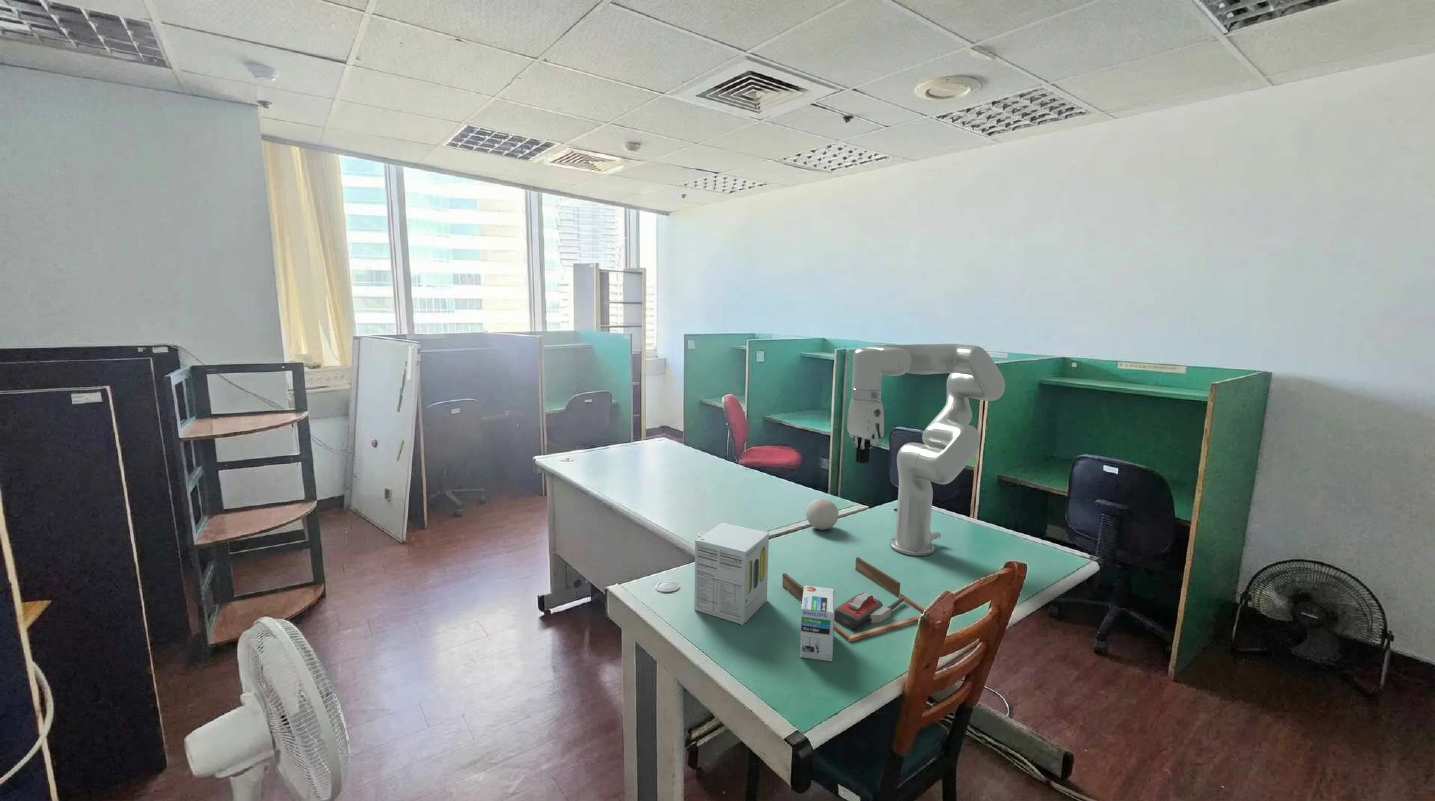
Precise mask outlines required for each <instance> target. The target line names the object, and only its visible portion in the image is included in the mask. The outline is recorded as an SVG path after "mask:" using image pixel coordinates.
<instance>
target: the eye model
mask: <svg viewBox="0 0 1435 801" xmlns="http://www.w3.org/2000/svg"><path fill="white" fill-rule="evenodd" d="M805 517H806V519H807V522H808V523H809V524H810V526H811V527H813V528H815V529H816V530H821V531H826V530H829V529H831V528H832V527H834V526H835V524H836V523H838V522H837V521H838V519H839V510H838V507H837V506H836V504H835V503H834V502H833V501H832V500H830V499H829V498H827V497H819V498H816V499H813V500H811V502H810V503H809V504H808V506H807V507H806V510H805Z"/></svg>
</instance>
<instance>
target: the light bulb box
mask: <svg viewBox="0 0 1435 801" xmlns="http://www.w3.org/2000/svg"><path fill="white" fill-rule="evenodd" d="M803 587H804V591H803V599H802V602H801V607H800V608H801V610H800V611H801V617H800V640H799V642H800V644H799V645H800V647H799V657H800V658H806V659H812V660H818V661H825V662H826V661H827V662H833V653H834V652H833V651H834V639H835V638H834V637H835V633H834V632H835V630H834V623H835V620H834V609H835V590H836V589H834V588H829V587H820V586H813V585H803Z"/></svg>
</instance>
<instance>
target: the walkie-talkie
mask: <svg viewBox="0 0 1435 801" xmlns="http://www.w3.org/2000/svg"><path fill="white" fill-rule="evenodd" d="M903 602H904V598H898V599H897V600H895V602H893V603H891V604H890V605H888V606H885V605H883V602H882V601H881V600H879V599H877V598H874V596H873V595H872V594H869V593H866V592H861V593H858V594H856V595H855V596H853V597H851V598H850V599H848V600H847V601H845V602H844V603H842V604H840V605H839V606H838V607H836V608H834V622H836V623H839V624H841V625H843V626H845V627H847V628H849V629H852V630H855V631H859V630H860V629H861V628H863V627H864V626H866V625H868V623H871V624H878V623H882V622H884V621H885V620H886V619H888V618H890V617H891V612H892V611H893V610H894V609H895V608H897V607H899V605H901V604H902V603H903Z"/></svg>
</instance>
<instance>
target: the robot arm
mask: <svg viewBox="0 0 1435 801" xmlns="http://www.w3.org/2000/svg"><path fill="white" fill-rule="evenodd" d="M853 352H854V353H853V356H852V357H853V363H852V377H851V378H852V379H851V380H852V381H851V396H850V397H851V398H850V400H849V406H848V410H847V411H848V414H847V424H846V426H847V429H846V431H847V432H848V433H849V434H848V436H849V437H850V438H852V440H853V441H854V447H855V448H856V450H855V451H856V452H855V462H856V463H858V464H867V463H869V462H870V450H871V449H872V447H873V446H875V445H876V446H877V445H879V444H880V443H879V442H880V441H879V439H883V438H884V434H885V433H884V432H885V431H884V430H885V416H884V415H885V414H884V404H883V402H882V401H881V398H882V381H883V380H882V379H883V376H890V377H893V376H894V377H898V376H902V375H905V374H907V373H908V374H913V375H935V374H938V375H939V374H949V375H948V377H947V378H946V401H945V405H944V406H943V408H942V410H940V412H939V413H938V414H937V415H936V416H935V417H934V418H933V419H932V421H931V422H930V423H929V424H928V425H927V426H926V428H925V429H924V430H923V433H922V435H921V436H922V437H921V438H922V439H921V440H922V442H923V443H919V442H907V443H905V444H904V445H903V444H902V446H901V447H900V448H899V449H898V452H897V455H896V466H897V471H898V491H897V492H898V494H897V506H896V507H897V510H896V525H895V536H894V537H891V538H890V539H889V546H890V548H891V549H892V550H894V551H895V552H898V553H901V554H904V555H907V556H917V557H922V556H923V557H924V556H928V555H931V554H933V553H934V551H935V545H934V543H933V542H932V541H934V540H937V539H940V538H941V537H942V535H941V532H940V531H934V532H932V531H931V524H932V523H931V522H932V521H931V520H932V507H933V499H934V498H933V497H934V496H933V495H934V492H933V486H932V483H934V484H939V485H947V484H949V483H951V482H953V481H954V480H956V478H957V477H958V475H959V474H960V473H962V471H963V470H964V469H965V467H966V466H967V465H968V464H969V462H970V461H971V460H972V459H973V458H974V456H975V455H976V454H977V452H978V450H979V449H980V448H979V447H980V443H981V435H980V433H979V431H978V430H977V428H975V427H974V426H973V425H969V424H970V423H971V421H972V418H973V411H972V408H971V405H970V400H969V399H973V400H974V399H975V400H978V401H979V400H980V401H984V402H985V401H987V402H994V401H996V400H999V399H1000V398H1002V396H1003V395H1004V393H1005V390H1006V389H1005V388H1006V382H1005V378H1004V375H1003V374H1002V372H1001V371H1000V370H999V367H998V366H997V365H996V363H995V361H994V359H993V358H992V357H991V354H989V353H988V352H987V351H986V350H985V348H983V347H982V346H980V345H974V344H960V343H932V344H931V343H924V344H923V343H920V344H919V343H918V344H914V343H913V344H887V345H886V344H878V345H877V344H876V345H875V344H873V345H868V346H866V347H861V348H857V349H855V350H854V351H853Z"/></svg>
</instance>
